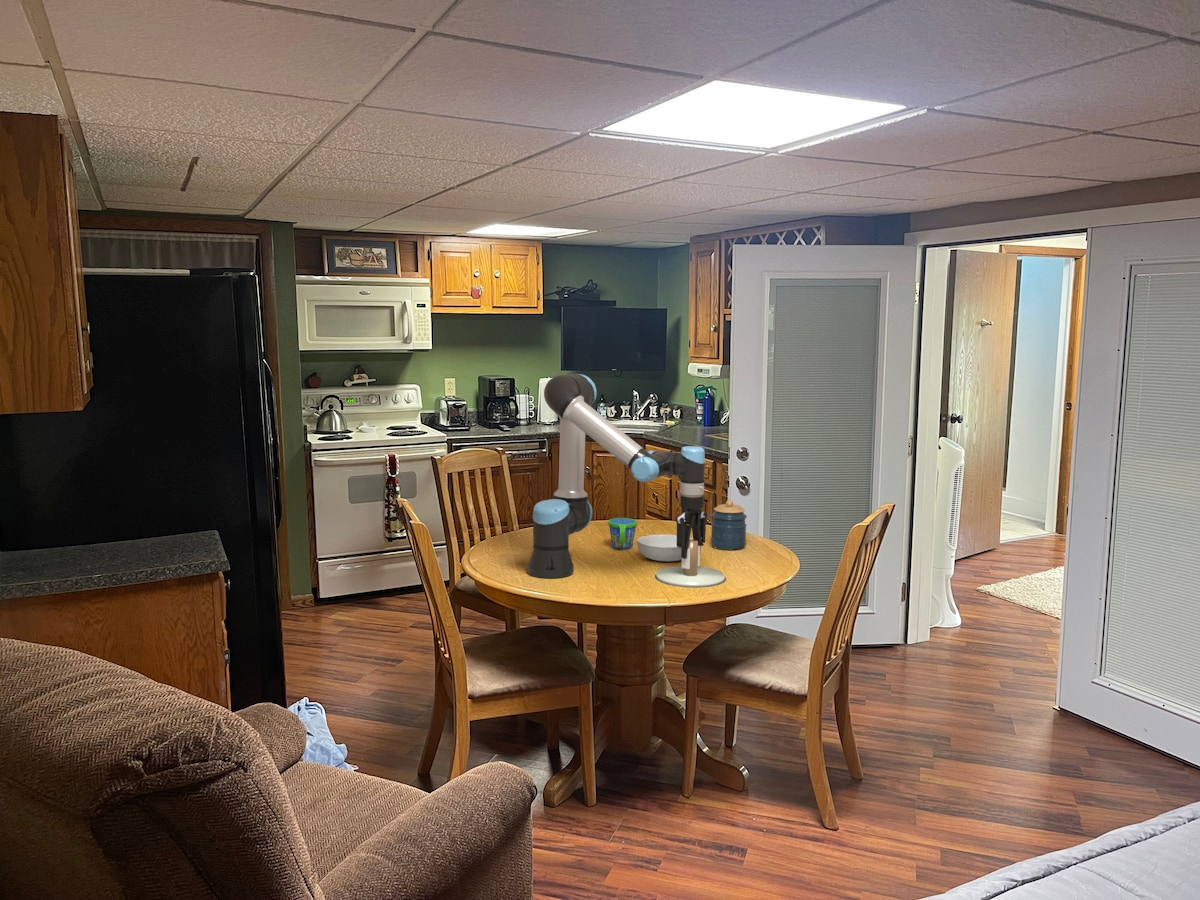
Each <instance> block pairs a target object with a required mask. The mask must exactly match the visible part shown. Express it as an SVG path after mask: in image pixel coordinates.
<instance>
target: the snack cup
mask: <svg viewBox="0 0 1200 900" xmlns="http://www.w3.org/2000/svg"><path fill="white" fill-rule="evenodd" d="M607 524H608V526H609V534H610V541H611V547H612V548H613V549H614V550H615V549H617V550H620V549H622V550H623V549H625V550H630V549H632V548H633V545H634V540H635V534H636V527H637V526H638V521H637V520H636V519H634V518H630V517H629V518H627V517H615V518H610V519H608V521H607Z"/></svg>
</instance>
